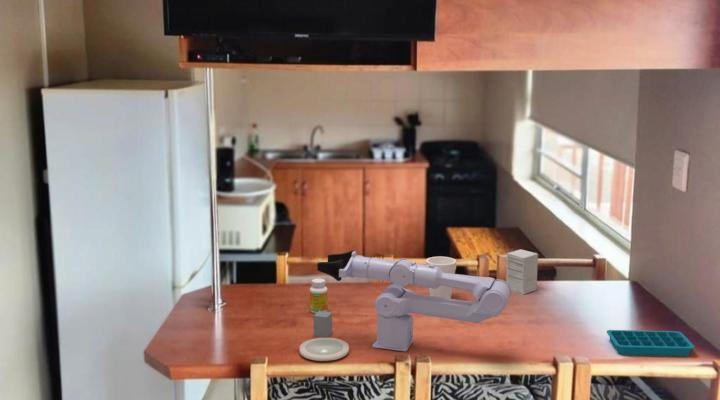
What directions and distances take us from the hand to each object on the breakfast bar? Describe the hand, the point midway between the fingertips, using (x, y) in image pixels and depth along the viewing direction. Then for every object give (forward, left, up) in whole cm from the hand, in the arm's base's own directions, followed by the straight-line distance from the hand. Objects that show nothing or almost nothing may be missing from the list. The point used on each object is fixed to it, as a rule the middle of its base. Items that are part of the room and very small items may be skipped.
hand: (323, 262), depth 211 cm
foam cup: (-24, -39, -22) cm, 51 cm away
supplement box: (-47, -57, -22) cm, 77 cm away
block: (+1, -1, -21) cm, 21 cm away
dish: (-4, +11, -21) cm, 24 cm away
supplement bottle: (+9, -18, -22) cm, 29 cm away
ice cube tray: (-86, -19, -22) cm, 91 cm away
